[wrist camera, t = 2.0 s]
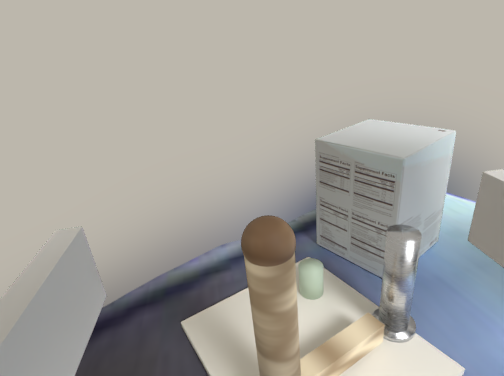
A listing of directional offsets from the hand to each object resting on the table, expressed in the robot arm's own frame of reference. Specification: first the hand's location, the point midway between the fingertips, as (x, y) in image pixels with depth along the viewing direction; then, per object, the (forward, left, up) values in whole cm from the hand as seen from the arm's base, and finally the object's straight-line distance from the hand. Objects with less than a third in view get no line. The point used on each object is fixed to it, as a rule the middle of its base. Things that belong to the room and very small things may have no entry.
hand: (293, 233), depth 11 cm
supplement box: (-31, -20, -25) cm, 44 cm away
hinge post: (-19, -8, -24) cm, 32 cm away
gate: (-9, -8, -24) cm, 27 cm away
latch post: (-16, -17, -24) cm, 33 cm away
